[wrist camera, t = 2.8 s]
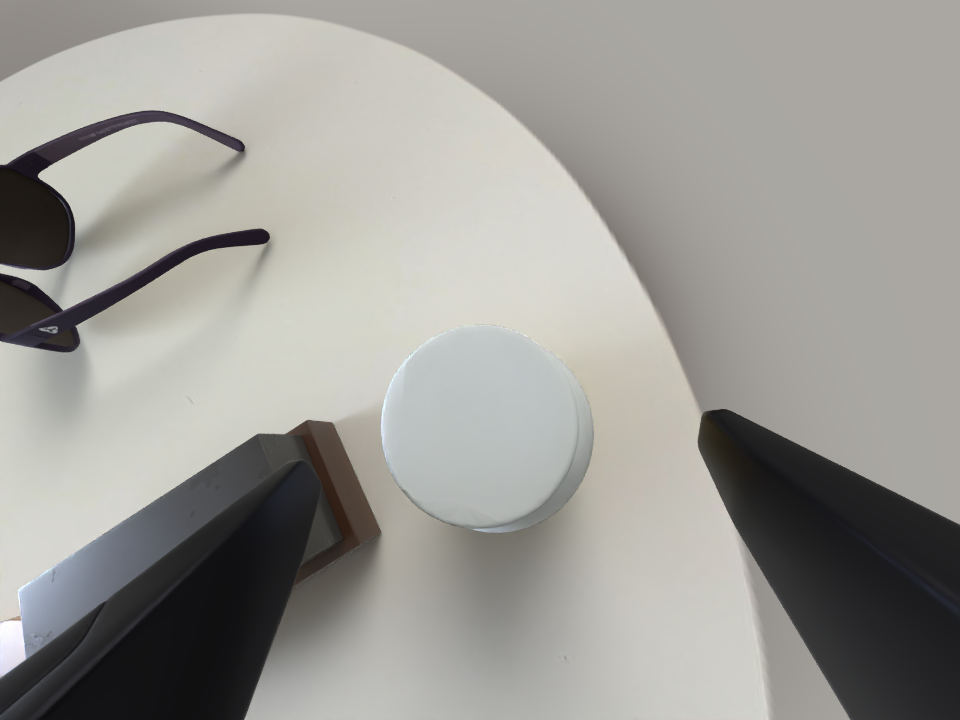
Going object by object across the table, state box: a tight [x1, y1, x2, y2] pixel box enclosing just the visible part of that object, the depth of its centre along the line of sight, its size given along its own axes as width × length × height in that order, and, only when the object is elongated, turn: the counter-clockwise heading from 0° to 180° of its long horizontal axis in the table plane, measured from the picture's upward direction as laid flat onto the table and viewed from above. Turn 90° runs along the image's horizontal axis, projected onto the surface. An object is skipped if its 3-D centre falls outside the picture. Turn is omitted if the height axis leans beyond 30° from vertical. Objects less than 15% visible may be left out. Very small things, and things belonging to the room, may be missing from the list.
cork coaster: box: [0, 616, 26, 678], centre depth 17 cm, size 8×8×1 cm
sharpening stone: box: [18, 420, 381, 659], centre depth 15 cm, size 13×6×4 cm, turn 121°
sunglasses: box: [0, 111, 270, 352], centre depth 21 cm, size 14×16×5 cm
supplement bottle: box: [381, 324, 594, 533], centre depth 11 cm, size 5×5×10 cm
